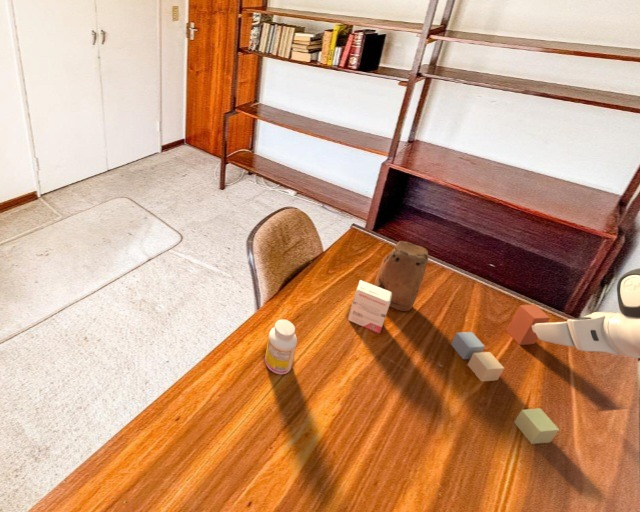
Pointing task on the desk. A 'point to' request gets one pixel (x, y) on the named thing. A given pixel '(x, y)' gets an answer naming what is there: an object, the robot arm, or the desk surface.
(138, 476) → the desk surface
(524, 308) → the tall block
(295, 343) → the supplement bottle
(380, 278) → the brown tall rounded lump
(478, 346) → the cube
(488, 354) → the cube
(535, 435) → the cube
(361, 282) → the ink box
